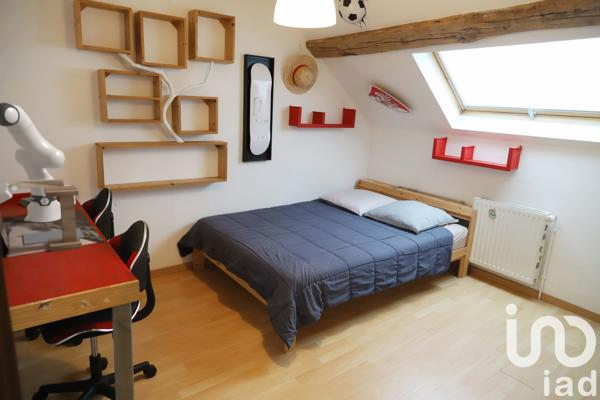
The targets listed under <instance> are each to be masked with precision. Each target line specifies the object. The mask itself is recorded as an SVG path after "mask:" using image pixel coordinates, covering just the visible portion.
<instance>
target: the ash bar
mask: <svg viewBox="0 0 600 400" xmlns="http://www.w3.org/2000/svg"><path fill="white" fill-rule="evenodd" d="M17 183H20V184H21V187H20V188H18V189H30V188H40V187H59V186H65V185H64V184H65V183H64V179H63V178H54V179H47V180H29V179H28V180H10V184H11V186H14V185H15V184H17ZM18 189H17V190H18Z"/></svg>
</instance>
